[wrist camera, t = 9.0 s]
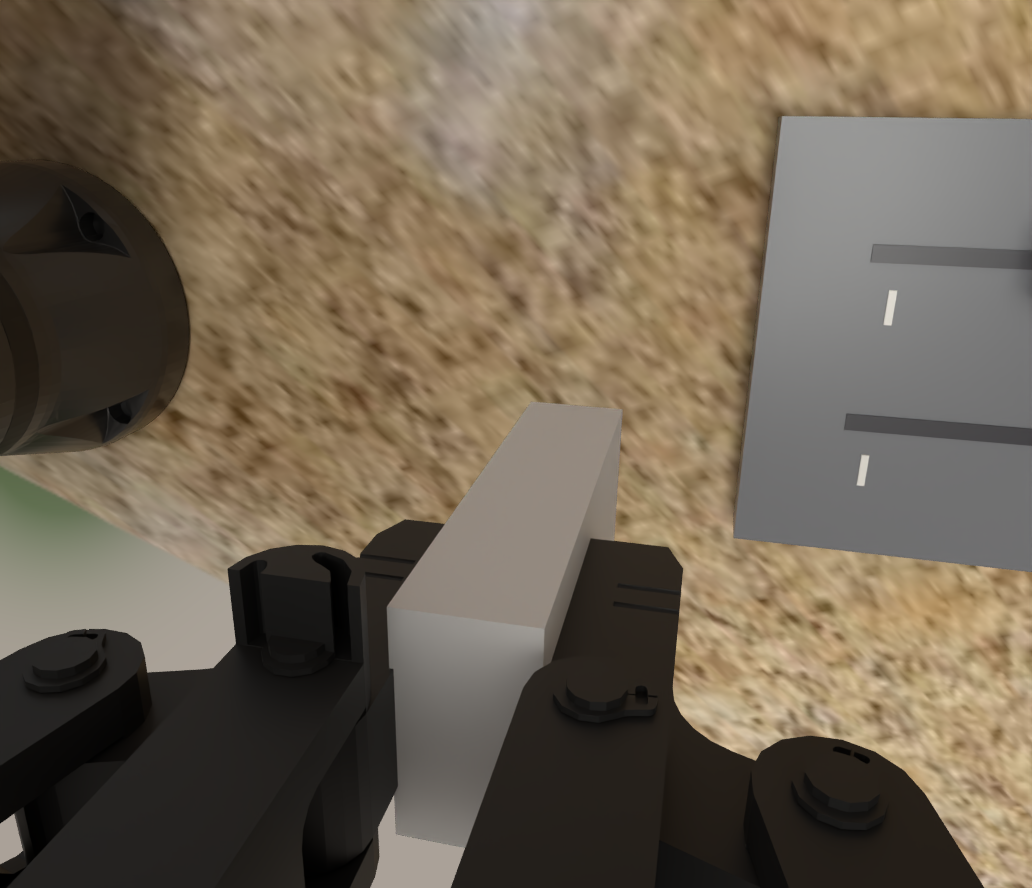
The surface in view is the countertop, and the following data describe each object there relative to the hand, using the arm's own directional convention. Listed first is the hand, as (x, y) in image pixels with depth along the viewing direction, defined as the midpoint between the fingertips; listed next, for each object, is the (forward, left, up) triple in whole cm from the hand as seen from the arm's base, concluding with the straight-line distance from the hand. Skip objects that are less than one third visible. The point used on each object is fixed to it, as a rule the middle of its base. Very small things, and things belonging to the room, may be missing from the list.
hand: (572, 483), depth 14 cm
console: (+15, -3, -26) cm, 30 cm away
